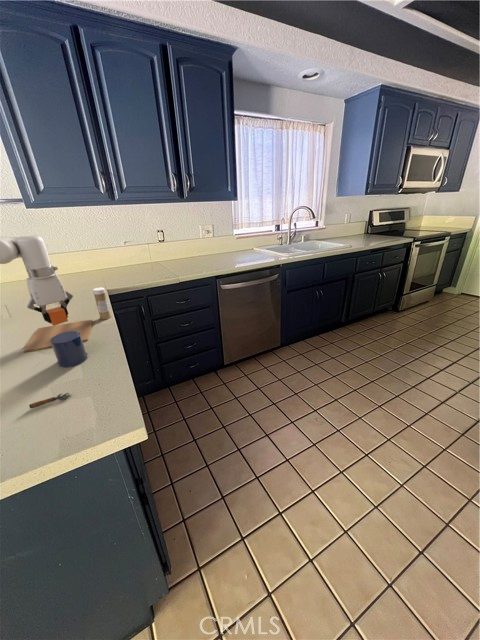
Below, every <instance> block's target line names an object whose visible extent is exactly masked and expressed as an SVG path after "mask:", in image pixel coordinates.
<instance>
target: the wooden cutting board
mask: <svg viewBox="0 0 480 640" xmlns="http://www.w3.org/2000/svg"><path fill="white" fill-rule="evenodd" d="M93 323H94V319H87V320H80V321H74V322H68V323H61V324H58V325H55V326H53V325H49V326H43V327H42V326H41V327H38V328H37V329H36V331H35V332H34V334H33V336H31V338H30V339H29V341H28V342H27V344H26V346H25V347H24V349H22V353H28V352H33V351H39V350H45V349H50V348H51V349H52V348H53V347H52V344H51V342H50V340H51V338H53V337H54V336H56V335H58V334H61V333H64V332H70V331H77V332H79V333H80V335H81V338H82V341H83V342H88V341H89V339H90V335H91V330H92V326H93Z"/></svg>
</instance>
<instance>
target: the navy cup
mask: <svg viewBox="0 0 480 640" xmlns="http://www.w3.org/2000/svg"><path fill="white" fill-rule="evenodd" d="M50 342H51V344H52V347H51V348H52V349H53V352H54V355H55V358H56V361H57V363H56V364H57V366H58V367H60V368H70V367H71V368H72V367H75V366H79V365H80V364H82V363H84V362H86V361H87V360H88V357H89V356H88V352H87V351H86V348H85V345H84V341H82V338H81V335H80V333H79V332H77V331H70V332H64V333H61V334H58V335H56V336H54V337H53V338H51V340H50Z"/></svg>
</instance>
